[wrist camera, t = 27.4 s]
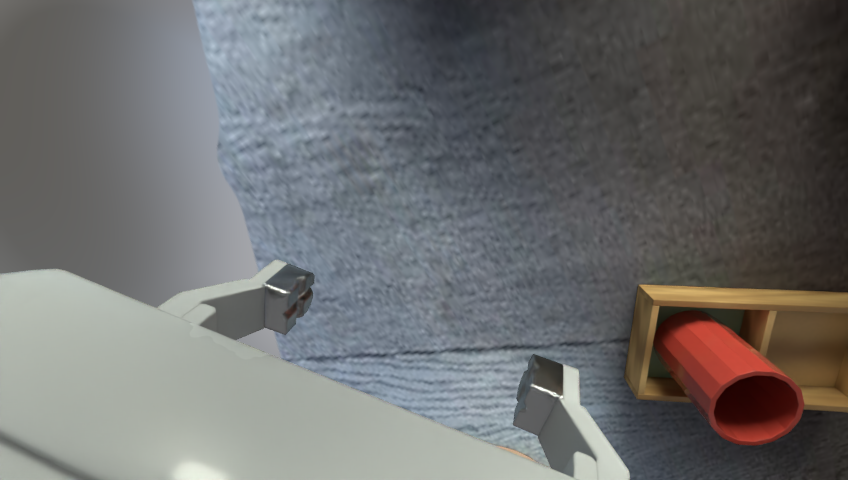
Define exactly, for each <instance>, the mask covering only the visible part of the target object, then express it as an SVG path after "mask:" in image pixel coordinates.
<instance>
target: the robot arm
mask: <svg viewBox="0 0 848 480" xmlns="http://www.w3.org/2000/svg"><path fill="white" fill-rule="evenodd" d="M314 278H315V275H314V274H313V273H311V272H309V271H306V270H304V269H301V268H299V267H296V266H293V265H291V264H288V263H285V262H283V261H280V260H274V261H272V262H271V263H270V264H269V265H267V266H266V267H265V268H263V269H262V270H261V271H260V272H258V273H257V274H256V275H254V276H253V277H252V278H251V279H249V280H246V279H242V280H237V281H232V282H228V283H223V284H218V285H213V286H209V287H204V288H199V289H194V290H189V291H185V292H180V293H178V294H177V295H175V296H174V297H172V298H171V299H169V300H168V301H166V302H165V303H163V304H162V305H160V306H159V307H157V308H155V307H153V306H150V305H148V304H145V303H143V302H140V301H137V300H135V299H133V298H130V297H128V296H126V295H123V294H120V293H118V292H116V291H113V290H111V289H108V288H106V287H103V286H101V285H98V284H96V283H94V282H91V281H89V280H86V279H84V278H82V277H79V276H77V275H75V274H72V273H70V272H67V271H64V270H60V269H43V270H30V271H22V272H13V273H5V274H0V480H630V475H629V470H628V469H627V467H626V466H625V464H624V463H623V462H622V460H621V459H620V457H619V456H618V454H617V453H616V452H615V450H614V449H613V447H612V446H611V444H610V443H609V442H608V440H607V439H606V437H605V436H604V434H603V433H602V432H601V430H600V429H599V427H598V426H597V424H596V423H595V421H594V420H593V419H592V417H591V416H590V414H589V413H588V411H587V410H586V409H585V407H582V406H580V385H579V371H578V369H576V368H573V367H570V366H567V365H564V364H560V363H557V362H555V361H552V360H549V359H546V358H543V357H541V356H538V355H535V354H533V355H532V356H531V358H530V360H529V362H528V370H527V371H525V372H524V373H523V376H522V378H521V381H520V384H519V387H518V392H517V398H516V399H517V401H518V403H517V406H516V408H515V413H514V421H513V425H514V426H516V427H519V428H521V429H523V430H526V431H528V432H530V433H533V434H535V435H537V436H538V439H539V441H540V443H541V445H542V448H543V450H544V452H545V455H546V457H547V459H548V462H549V464H550V466H551V468H552V469H551V468H549V467H546V466H544V465H541V464H539V463H536V462H534V461H532V460H529V459H527V458H524V457H522V456H519V455H517V454H514V453H512V452H509V451H507V450H504V449H502V448H499V447H497V446H494V445H492V444H490V443H487V442H485V441H482V440H480V439H477V438H475V437H472V436H470V435H467V434H465V433H463V432H460V431H458V430H455V429H453V428H450V427H448V426H445V425H443V424H440V423H438V422H435V421H433V420H431V419H428V418H426V417H423V416H421V415H418V414H416V413H413V412H411V411H408V410H406V409H404V408H401V407H399V406H396V405H394V404H391V403H389V402H386V401H384V400H381V399H379V398H376V397H374V396H371V395H369V394H366V393H364V392H362V391H359V390H357V389H354V388H352V387H349V386H347V385H344V384H342V383H339V382H337V381H335V380H332V379H330V378H327V377H325V376H322V375H320V374H317V373H315V372H312V371H310V370H307V369H305V368H303V367H300V366H298V365H295V364H293V363H290V362H288V361H285V360H283V359H280V358H278V357H275V356H273V355H270V354H268V353H266V352H263V351H261V350H258V349H256V348H253V347H251V346H248V345H246V344H244V343H241V342H239V341H236V340H237V339H239V338H242V337H244V336H247V335H249V334H251V333H254V332H256V331H259V330H261V329H263V328H264V327H265V328H268V329H270V330H273V331H276V332H278V333H281V334H284V335H286V334H287V333H288V332H289V331H290V330H291V329H292V327H293V326H294V325H295V324H296V318H299V317H302V316H304V314H305V313H306V312H307V311H308V309H309V307H310V305H311V302H312V299H313V291H312V290H311V288H310V287H311V286H312V285H313V284H314Z"/></svg>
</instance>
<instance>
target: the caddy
mask: <svg viewBox="0 0 848 480" xmlns="http://www.w3.org/2000/svg"><path fill="white" fill-rule="evenodd" d="M688 310H697V311H703V312H706V313H709V314H711V315H712V316H714V317H715V318H717V319H718V320H720V321H721V322H722V323H723V324H725V325H726V326H727V327H728V328H730V329H731V330H732V331H733V332H734V333H736V334H737V335H738V336H739V337H741V338H742V339H743V340H744V341H746V342H747V343H748V344H749V345H750V346H752V347H753V348H754V349H755V350H757V351H758V352H759V353H760V354H762V355H763V356H764V357H765V358H766V359H768V360H769V361H770V362H771V363H773V364H774V365H775V366H776V367H777V368H779V369H780V370H781V371H782V372H784V373H785V374H786V375H787V376H789V377H790V378H791V379H792V380H793V381H794V382H795V383H796V384H797V386H798V387H799V388H800V389H801V390H802V395H803V399H804V410H820V411H836V412H848V292H825V291H798V290H771V289H745V288H718V287H691V286H665V285H638V291H637V297H636V304H635V310H634V316H633V323H632V329H631V336H630V342H629V349H628V355H627V362H626V368H625V375H624V378H625V380H626V382H627V383H628V385H629V387H630V388H631V390H632V392H633V393H634V395H635V397H636V398H637V399H641V400H658V401H674V402H690V403H692V401H691V400H690V399H689V398H688V396H687V395H686V394H685V392H684V391H683V390H682V389H681V387H680V386H679V385H678V383H677V382H676V381H675V380H674V378H673V377H672V376H671V375H670V373H669V372H668V371H667V369H666V368H665V367H664V366H663V364H662V363H661V362H660V361H659V359H658V357H657V355H656V354H655V351H654V347H653V340H654V335H655V333H656V331H657V329H658V327H659V326H660V325H661V323H662V322H663V321H665V320H666V319H667V318H669V317H670V316H672V315H674V314H676V313H679V312H682V311H688Z"/></svg>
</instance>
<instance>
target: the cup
mask: <svg viewBox="0 0 848 480" xmlns="http://www.w3.org/2000/svg"><path fill="white" fill-rule="evenodd" d="M653 347H654V351H655V354H656V355H657V357H658V359H659V361H660V362H661V363H662V364H663V366H664V367H665V368H666V369H667V371H668V372H669V373H670V375H671V376H672V377H673V378H674V380H675V381H676V382H677V383H678V385H679V386H680V387H681V389H682V390H683V391H684V392H685V394H686V395H687V396H688V398H689V399H690V400H691V401H692V403H693V404H694V405H695V406H696V408H697V409H698V410H699V412H700V413H701V414H702V415H703V417H704V418H705V419H706V420H707V422H708V423H709V424H710V426H711V427H712V428H713V429H714V430H715V431H716V432H717V433H718V434H719V435H720V436H721V437H722V438H723V439H726V440H728V441H731V442H733V443H735V444H738V445H753V446H755V445H760V444H765V443H769V442H773V441H775V440H777V439H779V438H780V437H782V436H784V435H786V434H787V433H789V432H790V431H791V430H792V429H793V427H794V426H795V425H796V424H797V423H798V422H799V420H800V419H801V416H802V412H803V409H804V399H803V395H802V390H801V389H800V388H799V387H798V386H797V384H796V383H795V382H794V381H793V380H792V379H791V378H790V377H789V376H787V375H786V374H785V373H784V372H782V371H781V370H780V369H779V368H777V367H776V366H775V365H774V364H773V363H771V362H770V361H769V360H768V359H766V358H765V357H764V356H763V355H762V354H760V353H759V352H758V351H757V350H755V349H754V348H753V347H752V346H750V345H749V344H748V343H747V342H746V341H744V340H743V339H742V338H741V337H739V336H738V335H737V334H736V333H734V332H733V331H732V330H731V329H730V328H728V327H727V326H726V325H725V324H723V323H722V322H721V321H720V320H718V319H717V318H715V317H714V316H712V315H711V314H709V313H706V312H703V311H697V310H688V311H682V312H679V313H676V314H674V315H672V316H670V317H669V318H667V319H666V320H665V321H663V322H662V323H661V325H660V326H659V327H658V329H657V331H656V333H655V335H654V340H653Z"/></svg>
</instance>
